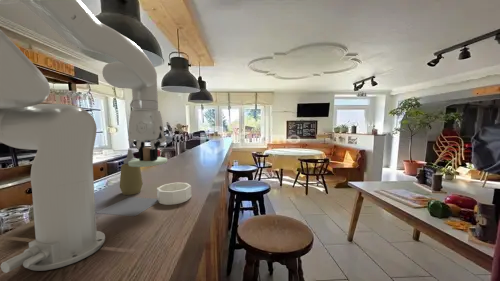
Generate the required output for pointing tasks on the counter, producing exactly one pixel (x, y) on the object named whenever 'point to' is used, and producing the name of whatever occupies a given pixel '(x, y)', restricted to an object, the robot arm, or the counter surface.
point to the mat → (129, 206)
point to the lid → (147, 160)
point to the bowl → (173, 193)
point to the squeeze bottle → (130, 177)
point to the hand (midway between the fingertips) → (148, 159)
